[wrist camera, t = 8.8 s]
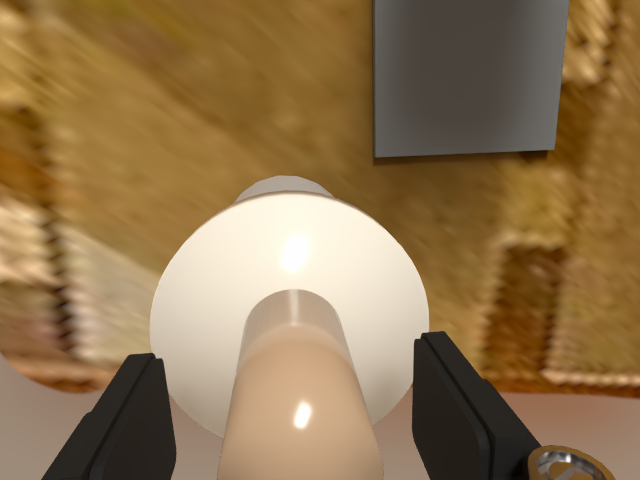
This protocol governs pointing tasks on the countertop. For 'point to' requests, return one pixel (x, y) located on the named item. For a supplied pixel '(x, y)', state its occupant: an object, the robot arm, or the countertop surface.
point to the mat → (466, 75)
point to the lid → (290, 335)
